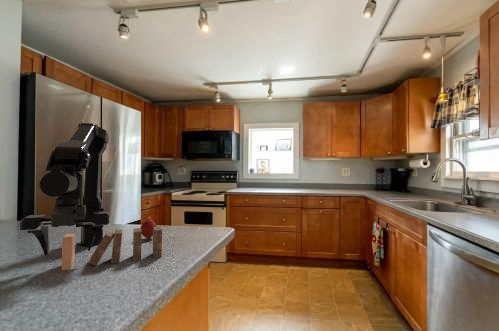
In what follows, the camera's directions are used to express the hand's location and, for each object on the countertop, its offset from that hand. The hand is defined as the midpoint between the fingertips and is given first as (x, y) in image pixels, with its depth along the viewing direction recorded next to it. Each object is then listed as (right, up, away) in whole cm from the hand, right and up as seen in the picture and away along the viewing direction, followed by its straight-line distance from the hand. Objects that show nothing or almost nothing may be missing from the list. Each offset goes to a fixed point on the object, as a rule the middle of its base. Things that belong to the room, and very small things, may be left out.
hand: (68, 252), depth 67 cm
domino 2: (+10, -4, +5) cm, 12 cm away
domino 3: (+15, -4, +7) cm, 17 cm away
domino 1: (+5, -3, +2) cm, 6 cm away
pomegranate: (+10, -5, +28) cm, 30 cm away
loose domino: (0, -4, 0) cm, 4 cm away
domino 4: (+20, -4, +9) cm, 22 cm away
